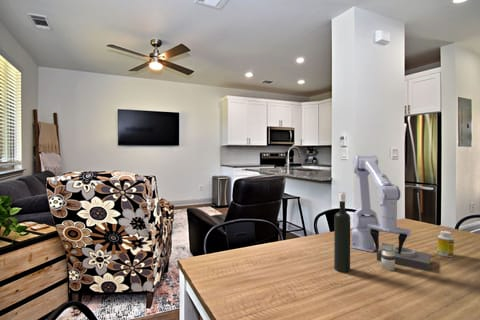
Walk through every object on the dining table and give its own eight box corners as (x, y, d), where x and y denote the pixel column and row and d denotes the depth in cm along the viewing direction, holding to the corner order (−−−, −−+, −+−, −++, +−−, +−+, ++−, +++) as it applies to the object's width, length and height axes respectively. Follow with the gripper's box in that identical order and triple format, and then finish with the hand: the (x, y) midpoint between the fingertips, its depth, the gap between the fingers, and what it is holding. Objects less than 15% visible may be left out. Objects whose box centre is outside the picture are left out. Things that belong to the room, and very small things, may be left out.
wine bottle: (349, 267, 104) (349, 191, 103) (350, 273, 98) (351, 193, 97) (334, 265, 105) (334, 191, 105) (334, 271, 100) (334, 193, 99)
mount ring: (391, 254, 109) (391, 250, 109) (394, 248, 115) (394, 245, 115) (414, 258, 104) (414, 254, 104) (415, 252, 110) (415, 249, 110)
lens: (380, 268, 102) (380, 250, 102) (382, 264, 106) (382, 247, 106) (394, 271, 99) (394, 253, 99) (396, 267, 103) (396, 249, 103)
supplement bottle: (450, 258, 112) (451, 234, 111) (435, 254, 116) (435, 231, 116) (455, 255, 115) (456, 232, 114) (440, 251, 119) (440, 229, 119)
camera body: (376, 259, 111) (377, 250, 110) (382, 251, 120) (382, 242, 120) (429, 271, 100) (429, 260, 99) (430, 261, 109) (430, 251, 109)
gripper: (365, 215, 104) (365, 249, 104) (409, 221, 95) (409, 258, 95) (369, 212, 109) (369, 245, 109) (411, 217, 100) (411, 252, 100)
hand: (388, 251), depth 102 cm, fingers open, 7 cm apart
